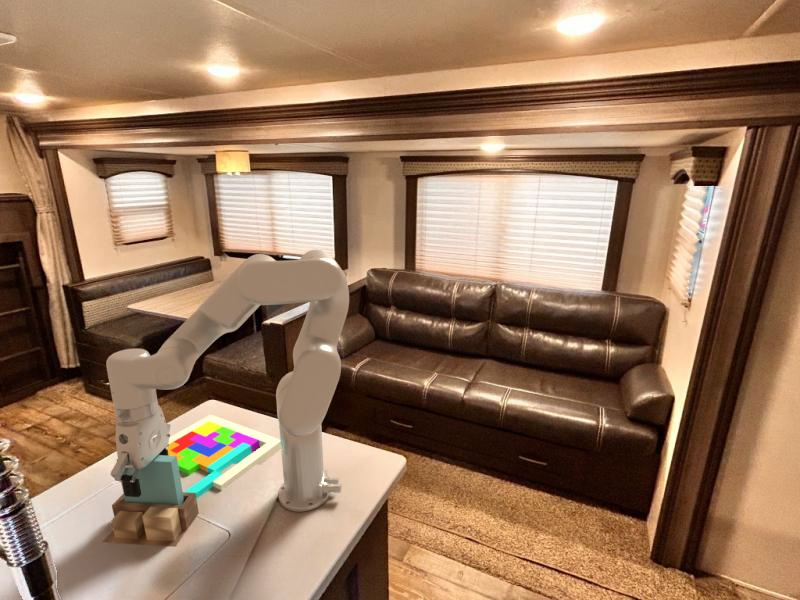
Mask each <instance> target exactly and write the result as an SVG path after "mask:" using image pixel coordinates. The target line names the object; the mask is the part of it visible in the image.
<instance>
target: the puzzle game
mask: <svg viewBox="0 0 800 600" xmlns="http://www.w3.org/2000/svg"><path fill="white" fill-rule="evenodd" d="M168 444H169V447H168V449H166V450H168V455H169V456H177V461H178V467H179V472H181V473H184V474H186V475H189V476H191V475H192V474H194V473H196V472H197V471H198V470H202V471H204V472H207V473H209V474H207V475H206V476H204V477H203V478H201V479H200V480H199V481H198V482H196V483H195V484H193V485H192V486H190V487H189V488H188V489H186V490H184V492H187V493H196V499H197V500H198V499H199V498H200V497H201V496H203V495H204V494H205V493H207V492H208V491H210V490H211V489H212V488H215V489H218V490H220V491H224V490H225V489H226V488H227V487H229V486H230V485H231V484H232V483H234V482H235V481H237V480H238V479H239V478H241V477H242V476H243V475H244V474H246V473H247V472H249V471H251V469H253V468H254V467H255V466H257V465H263V463H265V462H266V461H268V460H269V459H271V457H273V456H274V455H275V454H277V453H278V452H280V451H281V450H280V449H281V440H280V438H277V437H274V436H271V435H269V434H265V433H263V432H260V431H257V430H255V429H252V428H249V427H246V426H245V425H242V424H239V423H235V422H233V421H230V420H227V419H225V418H222V417H219V416H216V415H213V414H208V415H207V416H205V417H204V418H201V419H200V420H198V421H196V422H194V423H193V424H191V425H189V426H187V427H186V428H184V429H181V430H180V431H178V432H175V433H174V434H173V435H170V437H169V443H168ZM259 447H260V448H259ZM255 450H256V451H255ZM232 464H235V465H234V466H232V467H230V468H229V466H231V465H232ZM227 468H229V469H227ZM226 469H227V471H225V472H224V473H221V472H222V471H224V470H226Z"/></svg>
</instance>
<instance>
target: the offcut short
mask: <svg viewBox="0 0 800 600" xmlns="http://www.w3.org/2000/svg"><path fill="white" fill-rule="evenodd" d="M142 516H143V512H129V511H120V512H119V513H118V514H117V515H116V516H115V517H114V516H113V518H112V519H111V525H112V531H113V530H114V535H115V538H126V539H138V538H139V537H140V536H141V535H142V534H143V532H144V531H145V527H144V522H143V517H142Z"/></svg>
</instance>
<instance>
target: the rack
mask: <svg viewBox="0 0 800 600" xmlns="http://www.w3.org/2000/svg"><path fill="white" fill-rule="evenodd" d="M183 497H184V503H183V504H182V505H167V504H147V503H127V502H125V498H124V493H122V494H121V496H119V497H118V498H117V499H116V500H115V501H114V502H113V504H112V505H111V507H112V513H113V518H114V517H115V516H116V515H117V514H118V513H119V512H120V511H129V512H143V515H144V514H145V512H146V511H147V510H148V509H149V508H150V507H164V508H178V514H179V520H180V525H181V533H180V534H179V535H178V537H177V538H176V540H175V541H162V540H147V537H146V532H145V531H144V532H143V534H142V535H141V536H140V537H139V538H138V539H126V538H115V535H114V530H113V529H112V531H110V533H109V534H108V535H107V536H106V537H105V538H104V539H103V540H102V541H101V543H109V544H125V545H144V546H158V547H159V546H161V547H177V545H178V544H179V543H180V541H181V540H182V538H183V537H184V535H185V534H186V533H187V531H188V530H189V528H190V526H191V525H192V524H193V522H194V521H195V520H196V518H197V517H198V515H199V507H198V498H197V499H196V493H187V492H185V491H183Z"/></svg>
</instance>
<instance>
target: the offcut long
mask: <svg viewBox="0 0 800 600" xmlns="http://www.w3.org/2000/svg"><path fill="white" fill-rule="evenodd" d="M142 517H143V522H144V527H145V532H146V537H147V540H162V541H175V540H176V538H177V537H178V535H179V534H180V533H181V525H180V520H179V514H178V508H164V507H150V508H149V509H148V510H147V511H146V512H145V514H144V515H143V516H142Z"/></svg>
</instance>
